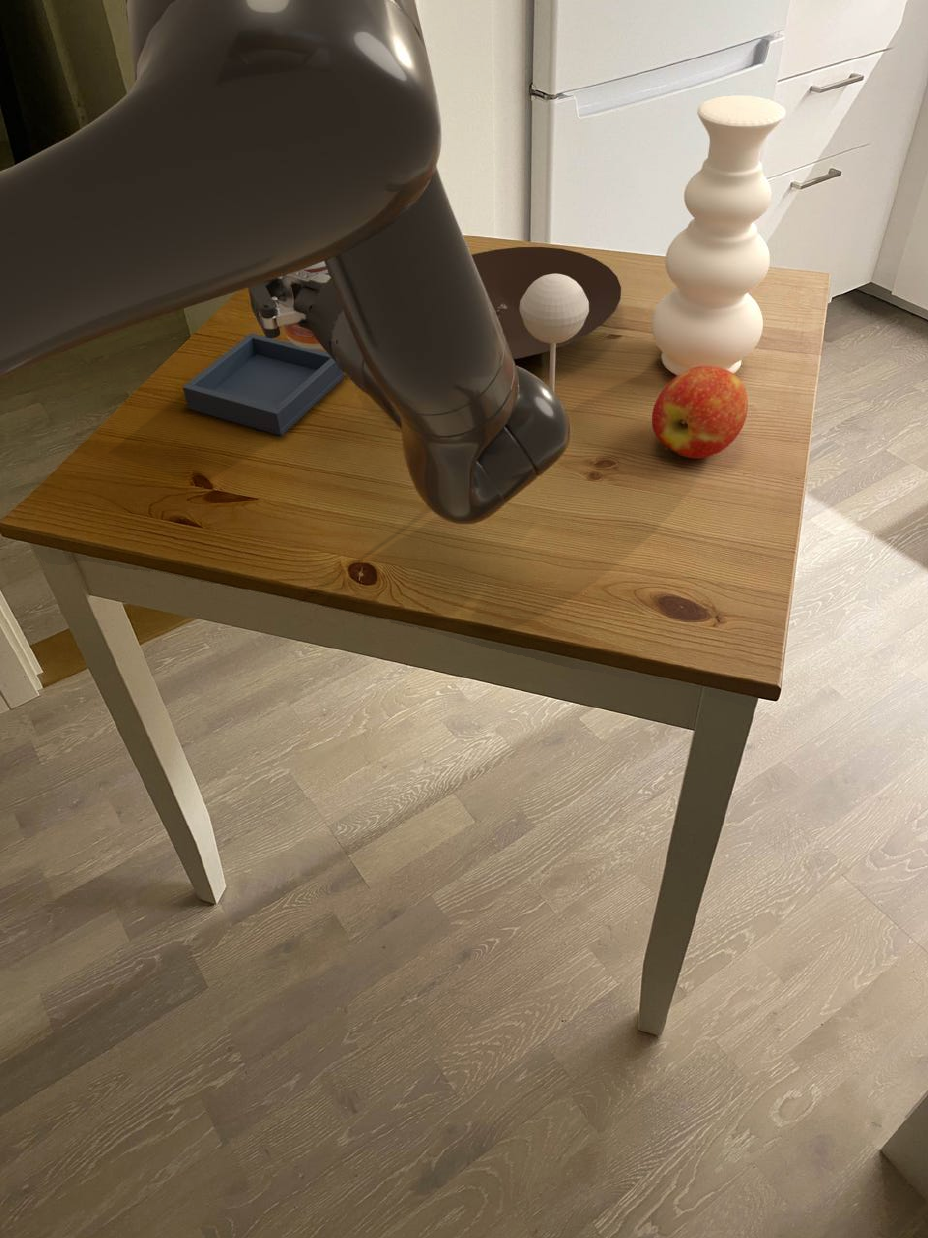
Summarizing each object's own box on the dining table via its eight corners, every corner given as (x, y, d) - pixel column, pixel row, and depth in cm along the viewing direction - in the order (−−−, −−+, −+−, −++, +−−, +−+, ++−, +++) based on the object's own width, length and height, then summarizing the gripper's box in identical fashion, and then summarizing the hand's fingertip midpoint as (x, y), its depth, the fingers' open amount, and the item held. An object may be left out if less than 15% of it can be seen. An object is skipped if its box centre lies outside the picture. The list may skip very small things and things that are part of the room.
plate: (438, 247, 120) (436, 218, 117) (650, 284, 111) (654, 254, 108) (324, 356, 103) (319, 325, 100) (565, 410, 94) (567, 378, 91)
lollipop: (510, 433, 91) (509, 287, 80) (530, 401, 95) (532, 257, 84) (572, 445, 90) (579, 298, 79) (589, 412, 93) (599, 266, 82)
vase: (757, 343, 101) (810, 87, 83) (749, 399, 94) (806, 132, 76) (655, 332, 103) (684, 81, 85) (640, 386, 96) (669, 124, 78)
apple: (634, 451, 89) (643, 377, 83) (683, 411, 93) (695, 338, 87) (708, 485, 85) (722, 409, 79) (756, 441, 89) (773, 367, 83)
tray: (281, 436, 93) (276, 413, 91) (188, 409, 97) (182, 386, 95) (344, 377, 100) (341, 355, 98) (255, 354, 103) (250, 332, 102)
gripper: (462, 263, 70) (369, 189, 80) (280, 315, 65) (207, 229, 76) (466, 354, 75) (379, 273, 86) (299, 408, 71) (228, 316, 81)
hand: (299, 253), depth 81 cm, fingers closed on pill bottle, 6 cm apart
